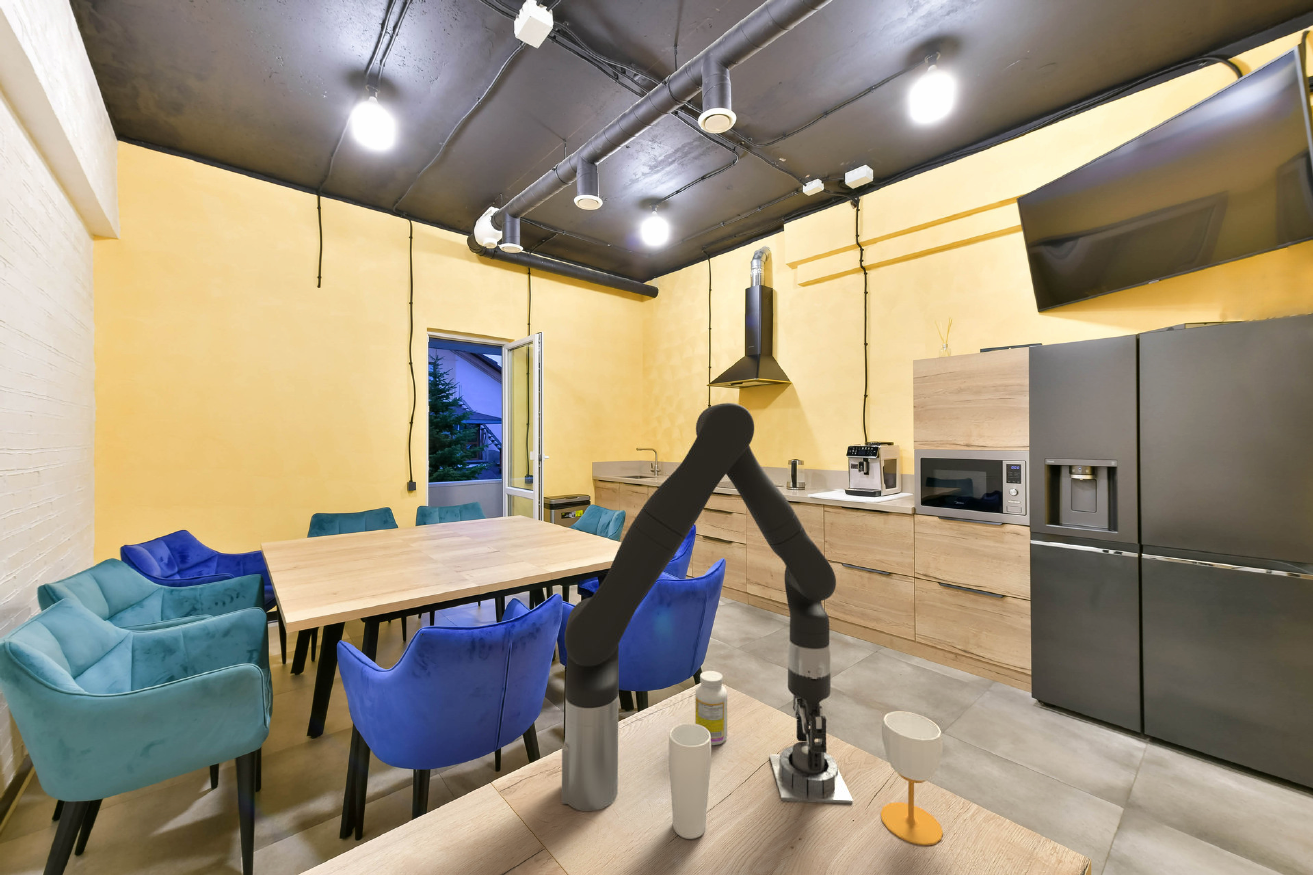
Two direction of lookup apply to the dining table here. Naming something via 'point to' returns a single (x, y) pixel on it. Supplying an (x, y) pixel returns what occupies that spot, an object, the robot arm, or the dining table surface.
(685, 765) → the drinking glass
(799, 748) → the cap
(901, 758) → the cup
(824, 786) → the segmented ring on plate
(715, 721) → the supplement bottle
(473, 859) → the dining table surface
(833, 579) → the robot arm
